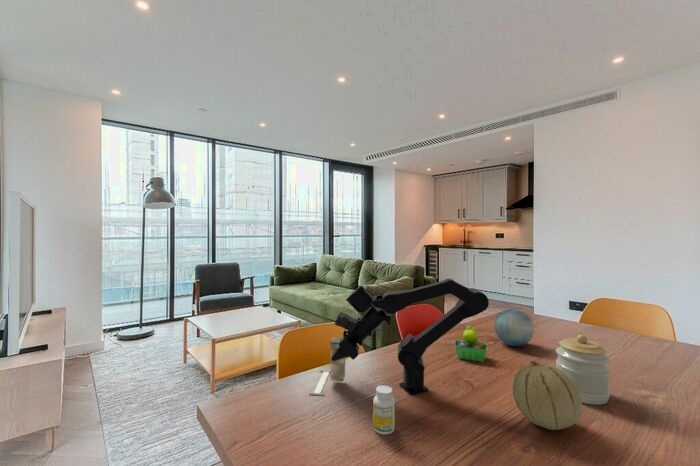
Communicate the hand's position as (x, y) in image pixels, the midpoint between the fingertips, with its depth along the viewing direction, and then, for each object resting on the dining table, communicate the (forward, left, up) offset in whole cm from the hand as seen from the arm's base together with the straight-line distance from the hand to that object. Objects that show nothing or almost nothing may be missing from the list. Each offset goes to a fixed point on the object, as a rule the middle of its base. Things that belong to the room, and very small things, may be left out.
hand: (333, 357), depth 101 cm
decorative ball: (+3, -82, -8) cm, 82 cm away
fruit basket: (0, -56, -8) cm, 56 cm away
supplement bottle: (-26, -4, -8) cm, 28 cm away
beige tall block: (-1, -1, -7) cm, 7 cm away
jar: (-34, -66, -8) cm, 74 cm away
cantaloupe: (-40, -42, -8) cm, 59 cm away
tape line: (+2, +3, -8) cm, 9 cm away
